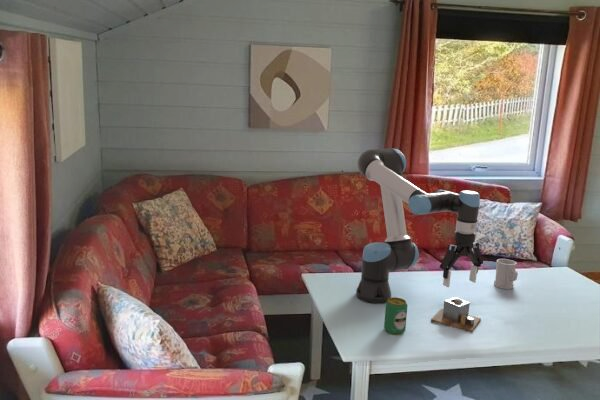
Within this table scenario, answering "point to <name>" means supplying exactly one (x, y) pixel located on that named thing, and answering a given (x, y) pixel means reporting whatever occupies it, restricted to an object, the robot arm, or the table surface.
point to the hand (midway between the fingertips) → (459, 283)
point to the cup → (505, 273)
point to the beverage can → (395, 316)
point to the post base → (441, 320)
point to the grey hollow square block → (457, 311)
